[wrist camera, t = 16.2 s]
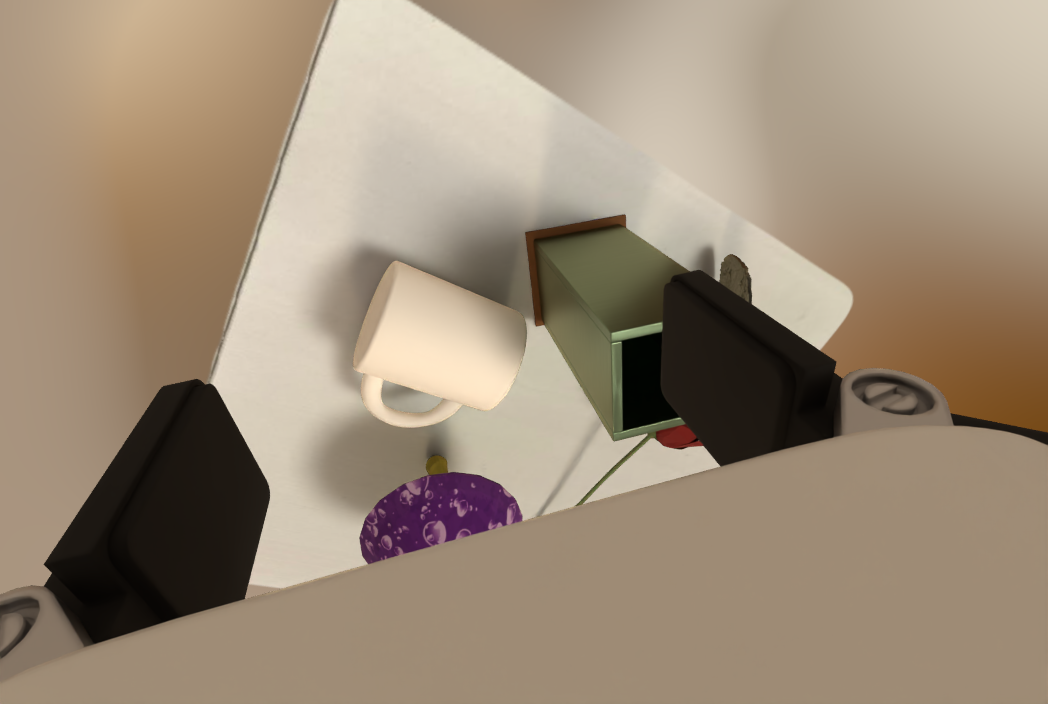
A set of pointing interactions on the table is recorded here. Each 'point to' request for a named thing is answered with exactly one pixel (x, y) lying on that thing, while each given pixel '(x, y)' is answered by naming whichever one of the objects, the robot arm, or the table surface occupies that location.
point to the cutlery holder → (609, 322)
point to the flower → (668, 437)
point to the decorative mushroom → (435, 512)
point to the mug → (436, 346)
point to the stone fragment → (736, 277)
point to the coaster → (553, 232)
